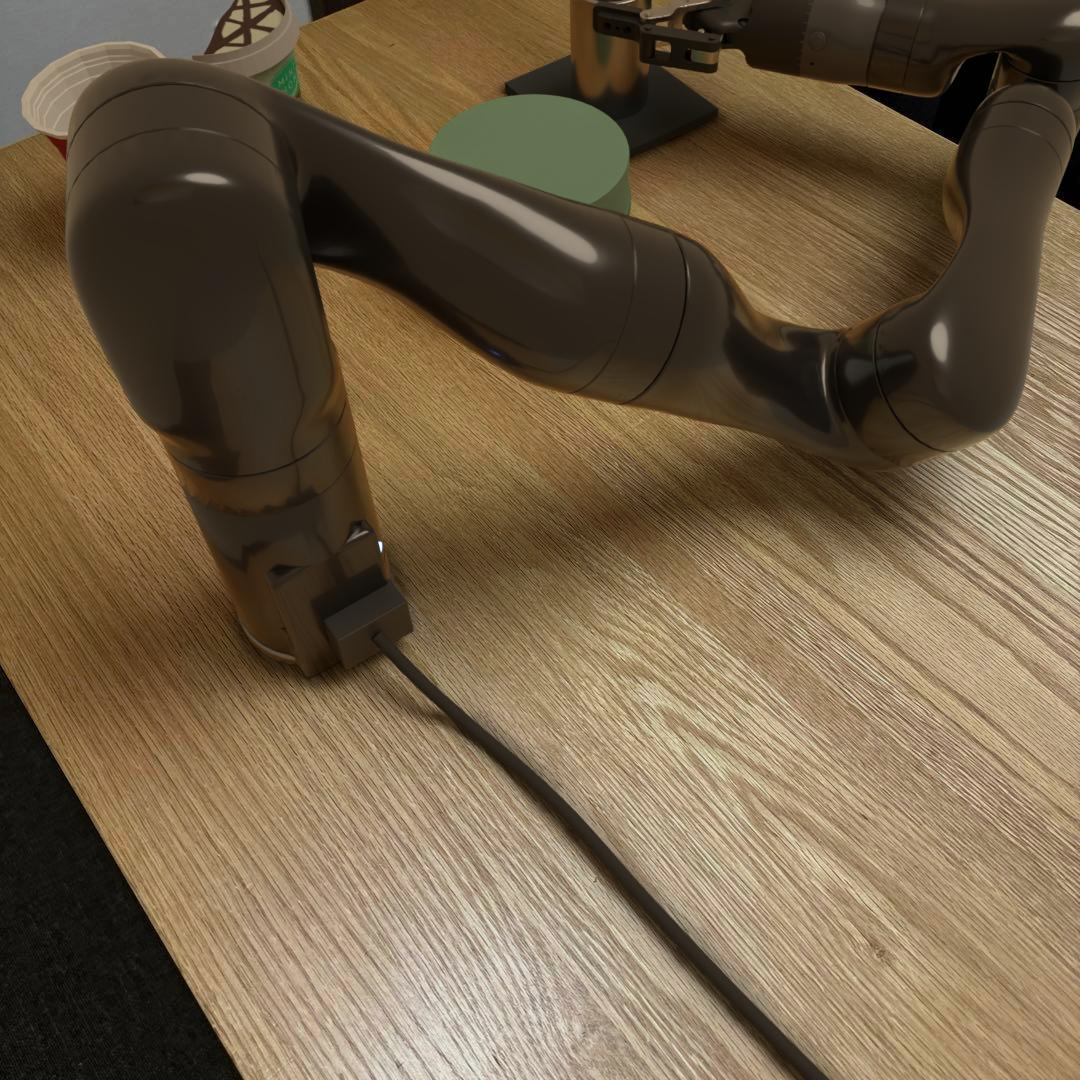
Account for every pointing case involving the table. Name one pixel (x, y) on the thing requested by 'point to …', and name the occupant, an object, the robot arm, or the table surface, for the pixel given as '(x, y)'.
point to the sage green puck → (543, 147)
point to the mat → (654, 124)
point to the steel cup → (606, 64)
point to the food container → (257, 43)
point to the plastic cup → (73, 85)
